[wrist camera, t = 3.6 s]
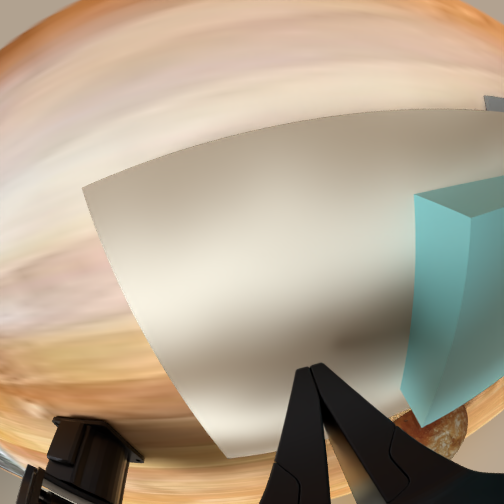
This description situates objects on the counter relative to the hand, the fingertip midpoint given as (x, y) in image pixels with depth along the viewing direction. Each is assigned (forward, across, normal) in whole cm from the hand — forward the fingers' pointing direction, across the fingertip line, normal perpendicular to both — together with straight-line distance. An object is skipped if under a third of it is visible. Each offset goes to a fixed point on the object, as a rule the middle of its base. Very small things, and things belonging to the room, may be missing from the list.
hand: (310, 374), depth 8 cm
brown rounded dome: (+6, -10, +20) cm, 23 cm away
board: (+5, -4, 0) cm, 7 cm away
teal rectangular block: (+1, -7, 0) cm, 7 cm away
